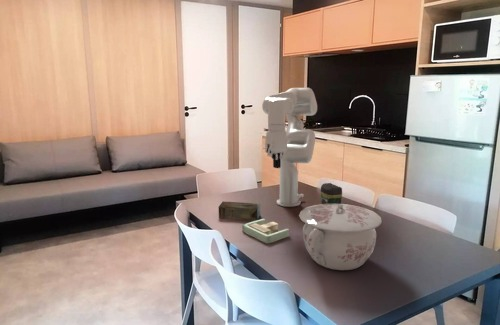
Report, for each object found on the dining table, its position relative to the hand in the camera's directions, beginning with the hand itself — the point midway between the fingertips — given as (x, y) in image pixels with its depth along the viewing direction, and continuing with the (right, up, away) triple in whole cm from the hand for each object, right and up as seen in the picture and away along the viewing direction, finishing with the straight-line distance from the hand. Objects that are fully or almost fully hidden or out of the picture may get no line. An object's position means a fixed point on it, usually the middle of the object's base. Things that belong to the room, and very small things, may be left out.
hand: (276, 167), depth 165 cm
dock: (-6, -28, -14) cm, 31 cm away
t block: (-6, -28, -13) cm, 31 cm away
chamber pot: (+18, -32, -38) cm, 53 cm away
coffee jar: (+23, -26, -4) cm, 35 cm away
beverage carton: (-17, -24, +8) cm, 30 cm away
